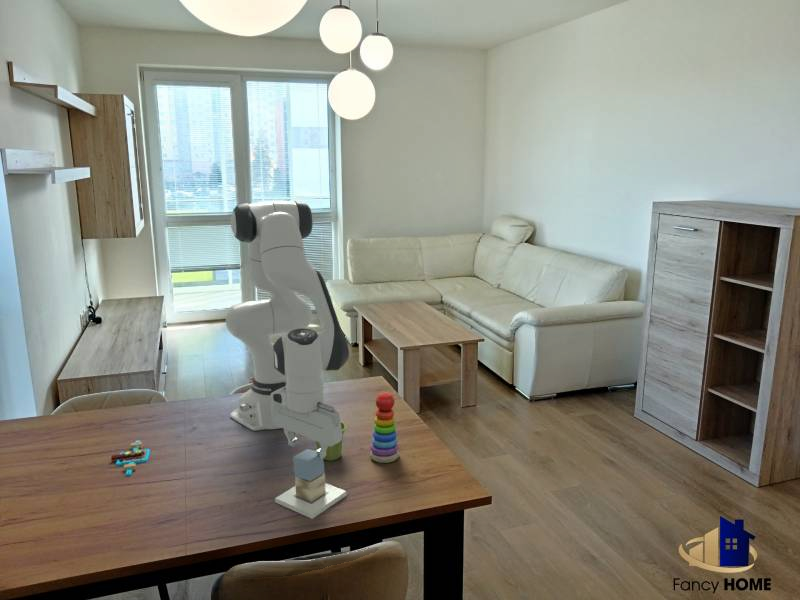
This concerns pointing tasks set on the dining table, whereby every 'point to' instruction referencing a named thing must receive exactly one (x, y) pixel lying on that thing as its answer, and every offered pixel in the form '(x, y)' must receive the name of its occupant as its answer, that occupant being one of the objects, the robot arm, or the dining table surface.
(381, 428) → the stacking toy
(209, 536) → the dining table surface
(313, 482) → the maple block
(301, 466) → the slate blue block
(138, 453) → the gear mechanism
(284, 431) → the robot arm
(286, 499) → the plate
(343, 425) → the plant pot
